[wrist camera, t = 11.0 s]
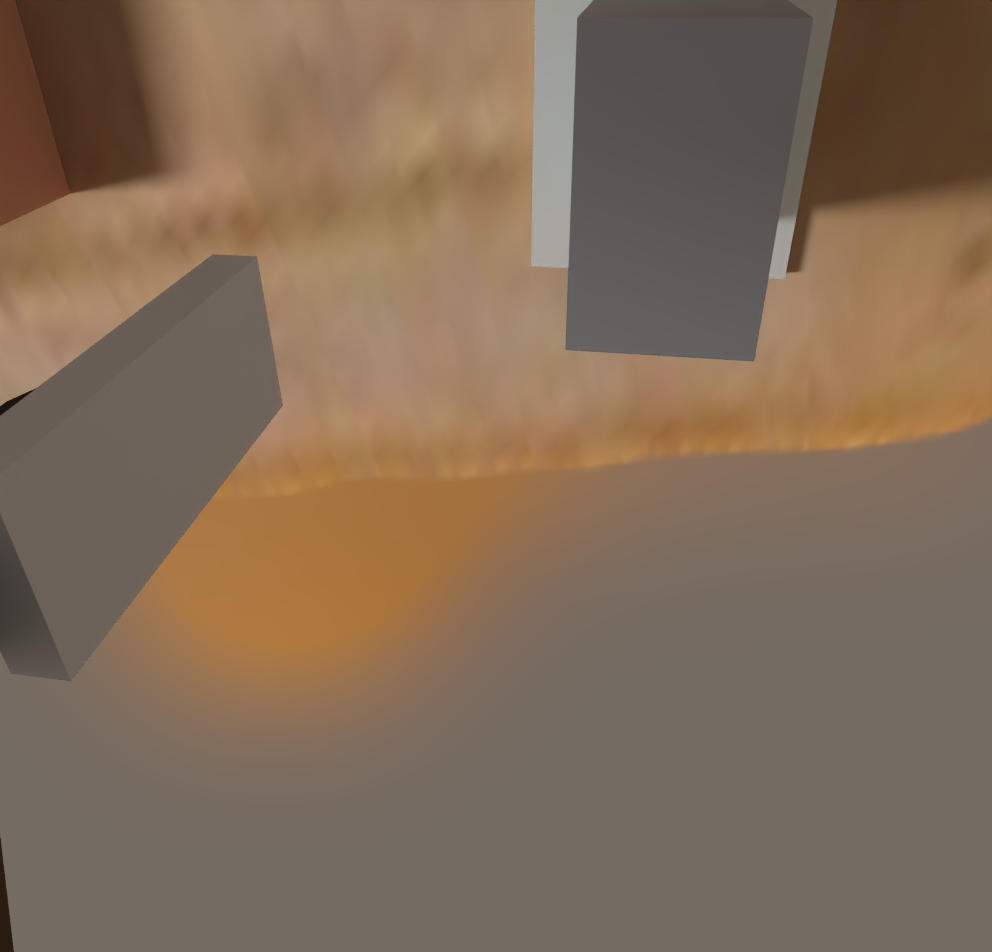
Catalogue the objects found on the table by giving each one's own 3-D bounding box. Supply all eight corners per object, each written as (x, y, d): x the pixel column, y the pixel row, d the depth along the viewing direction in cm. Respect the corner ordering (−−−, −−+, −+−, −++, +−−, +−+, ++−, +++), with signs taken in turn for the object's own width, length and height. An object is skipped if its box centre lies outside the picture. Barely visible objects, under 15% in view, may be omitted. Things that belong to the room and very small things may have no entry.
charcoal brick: (584, 273, 28) (565, 349, 23) (596, -4, 23) (577, 17, 18) (738, 280, 27) (754, 361, 22) (782, -5, 23) (813, 18, 18)
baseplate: (533, 261, 35) (531, 266, 34) (538, -88, 28) (536, -88, 28) (783, 273, 33) (784, 278, 33) (851, -92, 27) (854, -92, 26)
